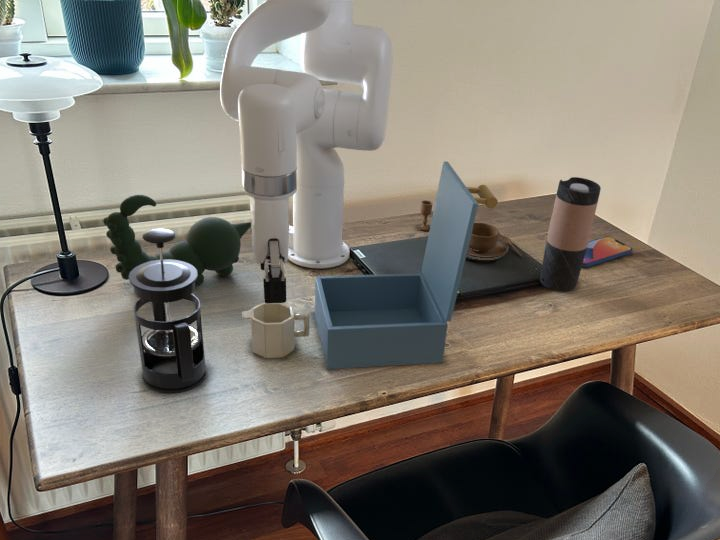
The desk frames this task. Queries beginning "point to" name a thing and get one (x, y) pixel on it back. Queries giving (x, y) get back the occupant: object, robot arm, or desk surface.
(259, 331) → the jug
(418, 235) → the desk surface
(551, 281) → the travel mug
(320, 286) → the chest
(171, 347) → the french press
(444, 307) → the lid
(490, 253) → the place setting
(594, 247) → the smartphone
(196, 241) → the toy figurine
